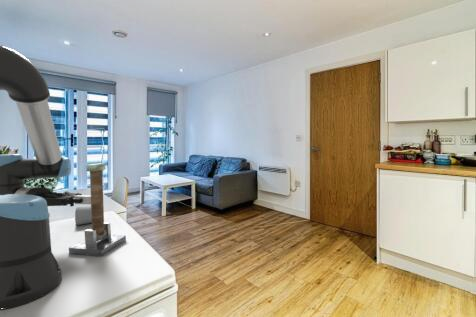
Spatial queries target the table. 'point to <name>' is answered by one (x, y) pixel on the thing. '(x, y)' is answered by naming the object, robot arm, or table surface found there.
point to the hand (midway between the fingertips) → (92, 200)
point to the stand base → (97, 243)
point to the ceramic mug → (83, 215)
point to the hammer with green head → (97, 199)
